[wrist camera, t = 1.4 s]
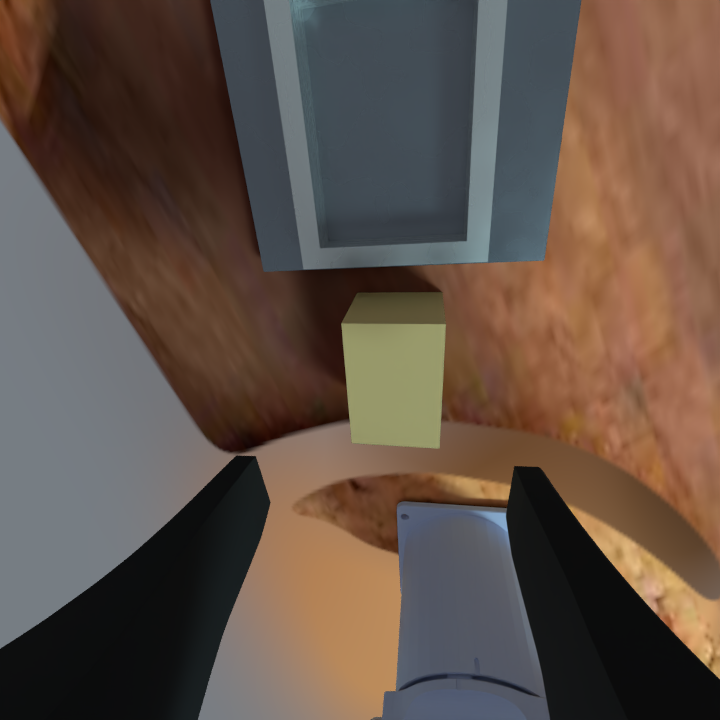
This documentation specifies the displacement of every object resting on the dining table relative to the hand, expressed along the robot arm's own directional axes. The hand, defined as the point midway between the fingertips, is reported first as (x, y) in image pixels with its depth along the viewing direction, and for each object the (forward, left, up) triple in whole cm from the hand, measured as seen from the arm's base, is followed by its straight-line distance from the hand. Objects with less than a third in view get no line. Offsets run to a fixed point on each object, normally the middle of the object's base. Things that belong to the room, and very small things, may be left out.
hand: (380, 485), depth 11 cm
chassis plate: (+9, 0, -10) cm, 13 cm away
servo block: (0, 0, -10) cm, 10 cm away
